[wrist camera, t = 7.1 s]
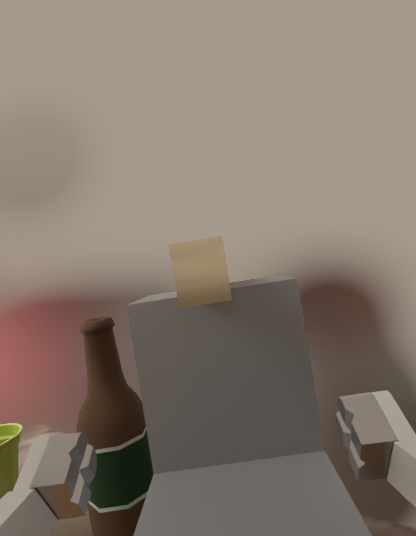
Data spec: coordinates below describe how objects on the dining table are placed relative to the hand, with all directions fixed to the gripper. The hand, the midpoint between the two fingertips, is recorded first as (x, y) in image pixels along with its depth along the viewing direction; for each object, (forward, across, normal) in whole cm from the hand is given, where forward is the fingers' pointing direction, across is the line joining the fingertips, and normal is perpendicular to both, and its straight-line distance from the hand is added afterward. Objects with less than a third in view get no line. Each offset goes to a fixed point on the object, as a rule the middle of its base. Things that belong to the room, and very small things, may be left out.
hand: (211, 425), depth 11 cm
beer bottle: (+12, +14, +34) cm, 39 cm away
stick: (+14, 0, +4) cm, 15 cm away
